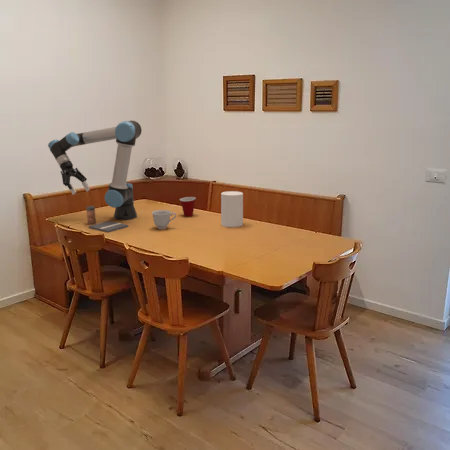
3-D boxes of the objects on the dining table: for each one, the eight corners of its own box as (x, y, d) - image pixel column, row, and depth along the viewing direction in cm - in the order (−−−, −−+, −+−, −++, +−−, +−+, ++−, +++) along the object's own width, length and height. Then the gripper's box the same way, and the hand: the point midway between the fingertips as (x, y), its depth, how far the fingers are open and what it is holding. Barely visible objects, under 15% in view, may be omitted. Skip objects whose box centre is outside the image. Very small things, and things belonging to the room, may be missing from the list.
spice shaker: (92, 222, 313) (91, 205, 310) (97, 223, 310) (96, 206, 307) (86, 223, 309) (84, 207, 306) (91, 225, 306) (89, 208, 303)
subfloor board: (108, 222, 312) (108, 220, 311) (128, 226, 301) (128, 224, 301) (88, 227, 299) (88, 225, 299) (108, 232, 289) (108, 230, 289)
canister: (234, 228, 297) (234, 196, 292) (217, 225, 305) (216, 193, 300) (247, 223, 307) (247, 192, 302) (229, 220, 315) (229, 190, 310)
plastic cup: (177, 214, 332) (177, 197, 329) (192, 213, 336) (192, 196, 333) (183, 218, 323) (182, 200, 320) (198, 216, 327) (198, 199, 324)
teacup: (175, 230, 293) (174, 214, 290) (150, 230, 293) (149, 214, 290) (177, 225, 304) (177, 209, 302) (153, 225, 305) (153, 209, 302)
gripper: (73, 164, 319) (90, 192, 319) (47, 167, 297) (64, 197, 296) (81, 158, 316) (97, 186, 316) (54, 161, 293) (72, 191, 293)
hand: (81, 192), depth 306 cm, fingers open, 13 cm apart
